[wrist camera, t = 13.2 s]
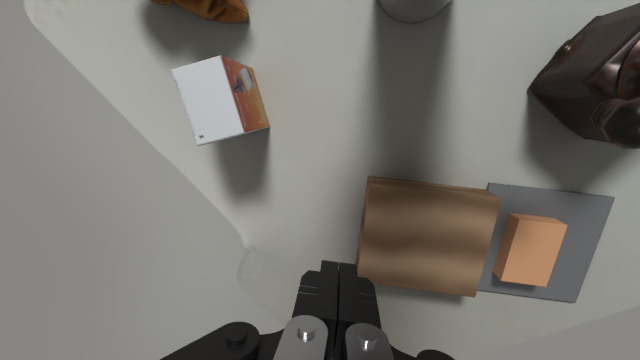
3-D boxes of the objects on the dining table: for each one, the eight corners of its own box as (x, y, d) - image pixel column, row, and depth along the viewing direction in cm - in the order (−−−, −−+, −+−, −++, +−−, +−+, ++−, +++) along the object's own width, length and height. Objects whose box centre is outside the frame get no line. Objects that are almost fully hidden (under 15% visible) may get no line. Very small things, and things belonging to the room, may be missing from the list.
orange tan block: (567, 225, 38) (554, 218, 40) (519, 219, 38) (509, 212, 40) (546, 286, 40) (535, 276, 42) (500, 280, 40) (492, 271, 43)
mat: (488, 182, 40) (489, 183, 40) (612, 196, 39) (614, 197, 39) (461, 286, 44) (462, 287, 44) (573, 300, 43) (575, 302, 43)
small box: (270, 127, 40) (246, 135, 30) (232, 137, 41) (196, 148, 31) (253, 66, 39) (221, 53, 28) (213, 77, 39) (168, 69, 29)
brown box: (368, 176, 41) (370, 183, 37) (486, 189, 40) (501, 198, 36) (355, 266, 45) (356, 281, 41) (463, 280, 44) (474, 297, 40)
